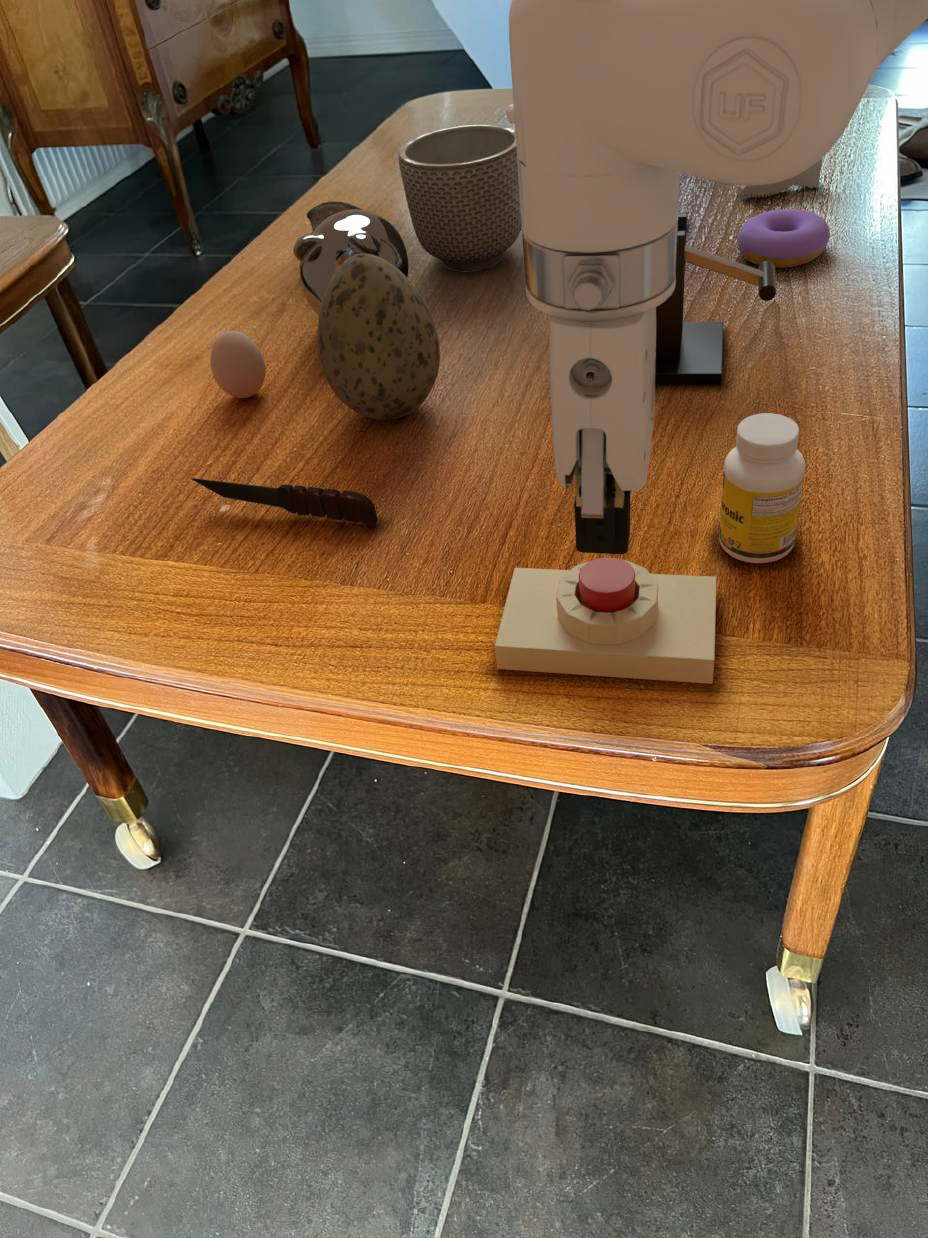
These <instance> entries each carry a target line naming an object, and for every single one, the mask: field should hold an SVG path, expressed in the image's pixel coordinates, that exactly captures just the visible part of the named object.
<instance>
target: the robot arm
mask: <svg viewBox="0 0 928 1238" xmlns="http://www.w3.org/2000/svg"><path fill="white" fill-rule="evenodd" d="M927 19H928V0H511V2H510V6H509V12H508V42H509V43H508V44H509V57H510V71H511V73H510V74H511V85H512V86H511V87H512V88H511V89H512V101H513V103H512V104H514V119H515V123H514V129H515V134H516V149H517V163H518V178H519V193H520V208H521V223H522V227H521V235H522V250H523V263H524V264H523V265H524V266H523V267H524V280H525V292H526V293H525V295H526V299H527V300H528V303H530V305H531V306H532V307H533V308H535V309H537V310H538V311H539V312H541V313H544V314H546V315H547V317H548V318H547V319H548V322H547V323H548V354H547V355H548V359H549V360H548V363H549V393H550V394H549V395H550V413H551V414H550V416H551V418H550V419H551V433H552V435H551V436H552V450H553V461H554V471H555V477H556V482H557V483H558V484H559V486H560V487H561V488H563V490H568V489H569V487H570V486H571V487H572V486H573V481H574V490H575V492H574V493H575V495H574V500H573V501H574V502H573V503H574V528H575V529H574V530H575V548H576V549H575V550H576V551H578V552H579V553H586V554H603V555H604V554H605V555H607V554H608V555H626V554H627V553H628V550H629V546H630V545H629V544H630V543H629V542H630V537H631V491H632V492H633V493H637V492H639V491H640V490H642V489H643V488H644V487H645V485H646V484H647V482H648V475H649V468H650V461H651V454H652V453H651V452H652V446H653V445H652V443H653V436H654V425H655V416H656V385H655V364H656V307H657V306H659V305H660V304H662V303H663V302H665V301H666V300H667V299H668V298H669V297H670V296H671V295H672V293H673V291H674V289H675V285H676V256H677V234H678V217H679V213H680V195H681V193H680V191H681V174H684V175H688V176H691V177H696V178H700V179H704V180H708V181H711V182H716V183H721V184H726V185H734V186H739V185H743V186H755V185H768V184H773V183H777V182H780V181H784V180H787V179H790V178H792V177H795V176H796V175H798V174H800V173H802V172H804V171H805V170H807V169H808V168H810V167H811V166H813V165H814V164H815V163H817V162H818V161H819V160H821V159H822V160H823V158H824V157H825V156H826V155H827V154H828V153H829V151H831V149H832V148H833V147H834V146H835V145H836V144H837V143H838V141H839V139H840V138H841V137H842V136H843V134H844V132H845V131H846V129H847V127H848V126H849V124H850V122H851V120H852V118H853V116H854V114H855V112H856V111H857V108H858V106H859V104H860V103H861V101H862V99H863V97H864V95H865V93H866V91H867V89H868V87H869V83H871V80H872V78H873V77H874V75H875V72H876V71H877V70H878V68H879V67H880V66H881V64H882V63H884V61H885V60H886V59H887V58H888V57H889V56H890V55H891V54H892V53H893V52H894V51H895V50H896V49H897V48H898V47H899V46H900V45H902V43H903V42H905V41H906V39H907V38H909V37H910V36H911V35H912V34H913V32H915V31H916V30H917V29H918V28H919V27H920V26H922V24H923V23H924V22H926V21H927Z"/></svg>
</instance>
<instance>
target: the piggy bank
mask: <svg viewBox="0 0 928 1238" xmlns="http://www.w3.org/2000/svg"><path fill="white" fill-rule="evenodd" d="M361 209H362V208H360V209H351V210H345V211H341V212H338V213H335V214H333V215H331V216H329V217H327V218H326V219H325V220H323V221H322V222H321V223H320V224H319V225H318V226H317V227H316V228H315V229H314V230H312V232H311V233H307V234H304V235H302V236H300V237H299V238H297V240H296V241H295V243H294V246H293V250H292V251H293V256H294V257H295V258H296V259H297V261H299V281H300V287H301V290H302V292H303V295H304V298H305V300H306V301H307V303H308V305H309V306H310V307H311V309H312V310H313V312H315V313H316V314H317V315H318V316H319V313H320V307H321V303H322V299H323V296H324V293H325V290H326V288H327V286H328V284H329V281H330V280H331V278H332V276H333V274H334V273H335V271H336V270H337V269H338V268H339V266H340V265H341V264H342V263H343V262H344V261H345V260H347V259H348V258H350V257H351V256H354V255H357V254H372V255H375V256H378V257H381V258H383V259H385V260H386V261H388V262H389V263H391V264H392V265H394V266H395V267H396V268H397V269H399V270H400V271H401V272H402V273H403V274H404V275H405V276H406V277H407V278H408V279H409V257H408V252H407V249H406V245H405V243H404V240H403V238H402V236H401V234H400V232H399V231H398V230H397V228H396V227H395V226H394V225H393V224H392V223H391V222H390V221H389V220H388V219H386V218H385V217H383V216H382V215H381V214H379V213H376V212H374V211H370V210H368V209H367V210H366V209H362V210H361Z"/></svg>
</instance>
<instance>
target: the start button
mask: <svg viewBox="0 0 928 1238" xmlns="http://www.w3.org/2000/svg"><path fill="white" fill-rule="evenodd" d="M624 560H625V559H621V558H618V557H613V556H612V557H611V556H605V557H598V558H595V559H592V560H590V562H589V561H587V562H588V563H586V562H585V563H586V564H585V565H584V566H583V567H582V569H581V570H580V573H579V592H580V599H581V601H582V603H583V604H584V605H585V606H586V607H587V608H589V609H591V610H593V611H596V612H606V613H613V612H617V611H620V610H623V609H625V608H626V607H628V606H629V605H630V604H631V603H632V602H633V600H634V597H635V572H634V569H633V568H632V566H631V565H630V564H629V563H627V562H626V561H624Z"/></svg>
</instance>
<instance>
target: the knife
mask: <svg viewBox="0 0 928 1238" xmlns="http://www.w3.org/2000/svg"><path fill="white" fill-rule="evenodd" d="M191 480H192V481H194V482H196V483H197V484H199V485H201V486H203V487H205V488H206V489H208V490H210V492H214V493H215V494H217V495H218V496H220V497H221V498H223V499H224V498H225V499H231V500H235V501H236V500H237V501H242V502H247V503H253V504H259V505H265V506H270V507H275V508H280V509H281V508H282V509H284V510H285V511H286V512H288V513H290V514H293V515H295V514H297V515H299V516H307V517H308V516H311V517H315V518H316V517H317V518H325V517H326V518H328V519H331V520H337V521H342V520H345V521H346V522H351V523H352V522H353V523H362V524H365V525H366V526H368V527H369V528H371V529H373V528H374V527H375V526H376V524H377V522H378V521H379V518H378V515H377V510H376V506H375V504H374V502H373V501H372V499H370V498H369V497H368V496H366V495H364V494H363V493H360V492H357V491H352V490H342V492H341V491H340V490H339V489H335V488H325V489H323V488H321V487H316V486H315V487H314V486H308V487H306V486H305V485H298V484H297V485H296V484H295V485H294V486H293V484H287V483H286V484H280V486H278V487H273V486H265V485H255V484H246V483H238V482H231V481H229V482H228V481H221V480H212V479H203V478H191Z"/></svg>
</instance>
